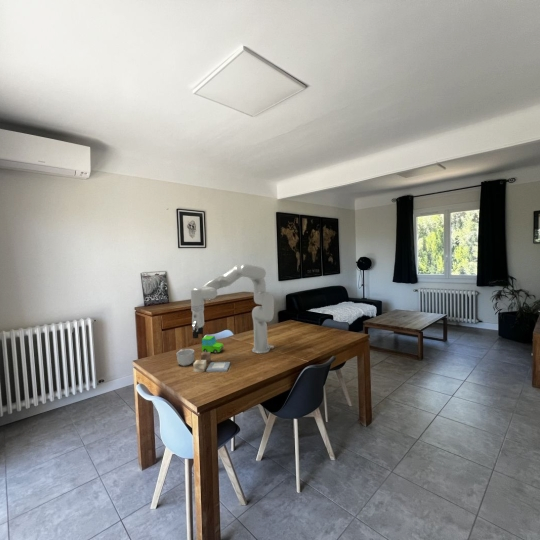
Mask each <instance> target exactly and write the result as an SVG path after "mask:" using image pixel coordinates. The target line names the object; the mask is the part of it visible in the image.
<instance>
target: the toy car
mask: <svg viewBox="0 0 540 540" xmlns="http://www.w3.org/2000/svg"><path fill="white" fill-rule="evenodd" d="M224 345H225V344H224V343H222V342H217V339H216V336H214V335H206V336H204V337H202V338H201V352H211V353H214V354H215V355H216V354H218V353H220V352H221V351H222V350H223V349H224Z"/></svg>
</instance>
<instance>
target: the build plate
mask: <svg viewBox="0 0 540 540" xmlns="http://www.w3.org/2000/svg"><path fill="white" fill-rule="evenodd" d="M230 365H231V361H210V363H209V364H208V367H206V369H205V371H206V373H207V372H209V373H210V372H211V373H213V372H215V373H216V372H228V370H229V368H230Z"/></svg>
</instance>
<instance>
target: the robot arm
mask: <svg viewBox="0 0 540 540" xmlns="http://www.w3.org/2000/svg"><path fill="white" fill-rule="evenodd" d="M266 274H267V273H266V269H264V268H263V267H261V266H257V265H252V264H248V263H238V264H237V263H236V265H234V266H233V267H231V268H230V269H228V270H227V271H225V272H224V273H223V274H221V275H219V276H217V277H215V278H214V279H212V280H210V281H208V282H206V283H205V284H203V286H201V287H194V288H191V290H190V307H191V308H190V310H191V313H192V315H191V327H192V339H199V335H203V334H204V325H205V315H204V311H205V300H214V299H215V298H216V297H217V296H218V290H219V289H222V288H223V289H224V288H227V287H230V286H232V285H233V284H234V283H236V282H237V280H240V278H242V277H243V278H249V279H250V280H251V282H252V285H253V301H254V303H255V304H256V305H257V306H255V307H253V308H252V311H251V317H252V323H253V348H251V351H252V353H254V354H266V353H269V351H270V349H274V348H275V346H274V345H273V344H269V343H268V325H267V323H269V322H271V321H273V319H274V315H275V313H274V312H275V299H274V296H273V294H272V293H271V292H269V291H267V287H266V286H267V285H266V280H265V277H266Z"/></svg>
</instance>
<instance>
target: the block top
mask: <svg viewBox="0 0 540 540" xmlns="http://www.w3.org/2000/svg"><path fill="white" fill-rule="evenodd" d="M211 353H212V352H204V351H201V354H200V360H206V365H207V364H208V365H210V363H211V362H212V360H211V359H212V356H211V355H212V354H211Z"/></svg>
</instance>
